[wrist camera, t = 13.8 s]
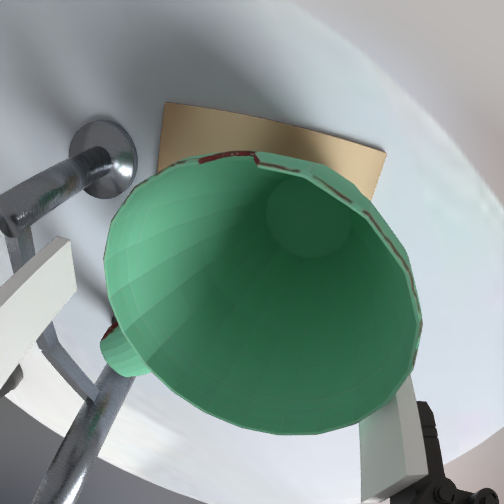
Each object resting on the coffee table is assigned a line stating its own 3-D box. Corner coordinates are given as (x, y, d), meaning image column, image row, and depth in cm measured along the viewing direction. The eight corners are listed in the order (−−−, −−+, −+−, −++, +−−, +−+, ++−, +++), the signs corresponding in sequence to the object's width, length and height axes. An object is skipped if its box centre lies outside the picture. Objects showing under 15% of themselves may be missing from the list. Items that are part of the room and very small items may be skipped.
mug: (337, 88, 14) (288, 62, 5) (428, 255, 16) (458, 402, 7) (147, 221, 21) (33, 296, 13) (228, 334, 23) (156, 440, 15)
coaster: (154, 277, 22) (152, 279, 22) (166, 102, 16) (164, 102, 16) (320, 320, 22) (320, 323, 21) (385, 152, 15) (386, 153, 15)
